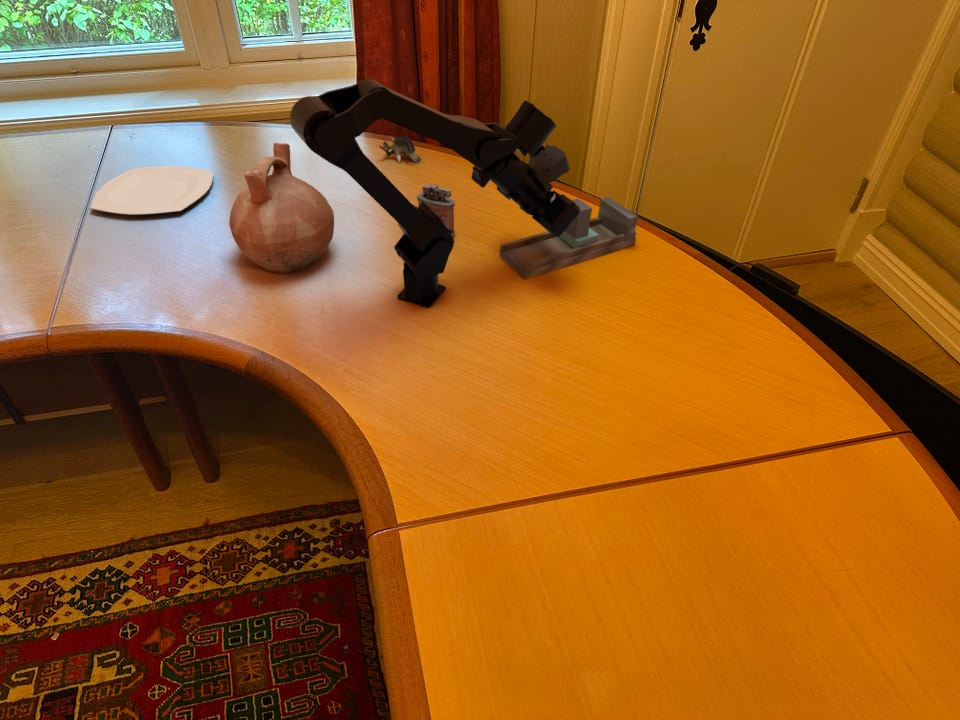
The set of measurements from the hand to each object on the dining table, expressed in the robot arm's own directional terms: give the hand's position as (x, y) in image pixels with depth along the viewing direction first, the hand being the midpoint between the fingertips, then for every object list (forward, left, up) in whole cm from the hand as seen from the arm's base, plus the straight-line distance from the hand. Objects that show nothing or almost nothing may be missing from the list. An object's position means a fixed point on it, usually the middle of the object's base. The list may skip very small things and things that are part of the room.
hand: (560, 220), depth 112 cm
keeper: (+4, -3, -5) cm, 7 cm away
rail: (+2, -1, -7) cm, 7 cm away
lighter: (-3, +24, -7) cm, 26 cm away
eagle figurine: (+23, +49, -8) cm, 55 cm away
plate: (-17, +86, -8) cm, 89 cm away
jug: (-24, +45, -7) cm, 51 cm away
